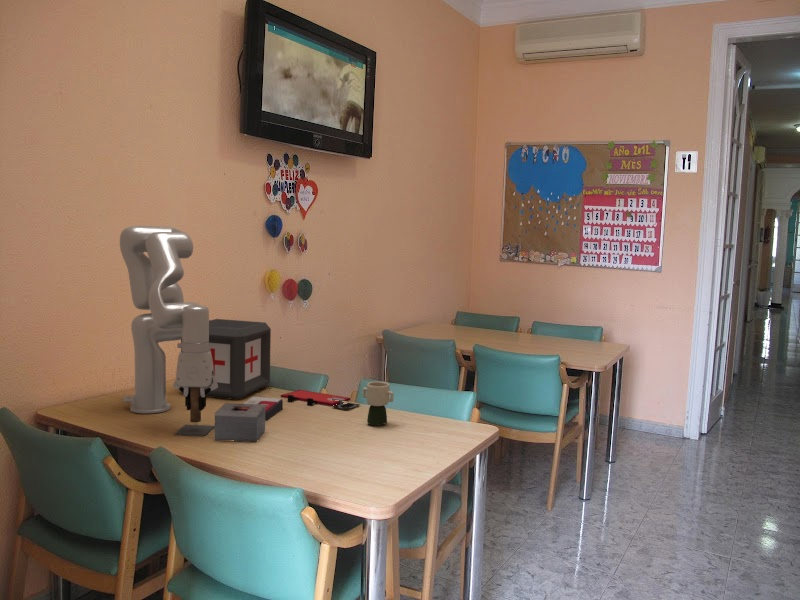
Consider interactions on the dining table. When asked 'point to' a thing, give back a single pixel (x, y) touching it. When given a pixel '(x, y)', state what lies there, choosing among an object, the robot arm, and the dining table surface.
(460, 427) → the dining table surface
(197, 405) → the brown cylinder
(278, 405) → the calculator
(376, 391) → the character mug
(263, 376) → the first aid kit
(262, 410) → the guard box
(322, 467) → the dining table surface
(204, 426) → the rest pad
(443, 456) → the dining table surface
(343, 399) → the red board with handle
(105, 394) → the dining table surface
